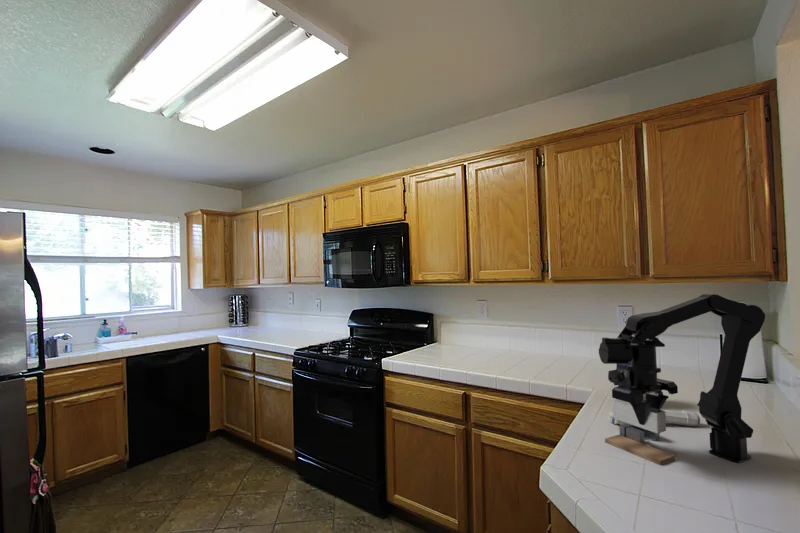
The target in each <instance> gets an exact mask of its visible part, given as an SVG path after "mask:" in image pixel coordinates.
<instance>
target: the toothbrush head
mask: <svg viewBox="0 0 800 533" xmlns="http://www.w3.org/2000/svg"><path fill="white" fill-rule="evenodd" d="M662 410H663V411H665V418H666V424H667V423H668V424H674V425H680V426H684V427H699V426H700V425H701V418H700V416H699V415H698V414H697V413H694V412H688V411H686V410H681V411H678V410H668V409H662ZM609 416H610V423H612V424H615V425H617V424H618V425H619V426H620V425H624V424H628V423H625V422H622V421H619V420H616V419H614V418H613V411H609Z"/></svg>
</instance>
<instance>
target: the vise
mask: <svg viewBox="0 0 800 533" xmlns="http://www.w3.org/2000/svg"><path fill="white" fill-rule="evenodd" d="M618 429H619V435H622V436H624V437H627V438H630V439H632V440H635V441H637V442H640V443H643V444H645V443H646V442H645V438H646V439H649V440H651V441H654V442H658V441H659V440H660V439H661V438H660V437H661V436H660V435H661V434H660V433H655V432H652V431H649V430H646V429H643V428H640V427H637V426H634V425H631V424H624V425H620V424H619V426H618ZM645 445H646V444H645Z"/></svg>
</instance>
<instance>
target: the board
mask: <svg viewBox="0 0 800 533" xmlns="http://www.w3.org/2000/svg"><path fill="white" fill-rule="evenodd" d="M604 443H606V444H609V445H612V446H614V447H616V448H618V449H620V450H622V451H626V452H628V453H630V454H633V455H634V456H638V457H640V458H642V459H645V460H647V461H649V462H653V463H655V464H657V465H660V466H661V465H664V464H668V463H671V462H672V461H675V460H676V458H675V457H676V456H675V455H674V454H671V453H669V452H667V451H664V450H660V449H659V448H656V447H653V446H650V445H648V444H643V443H640V442H637V441H635V440H632V439H630V438H627V437H624V436H622V435H620V434H617V435H613V436H609V437H607V438H606V437H605V439H604Z"/></svg>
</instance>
